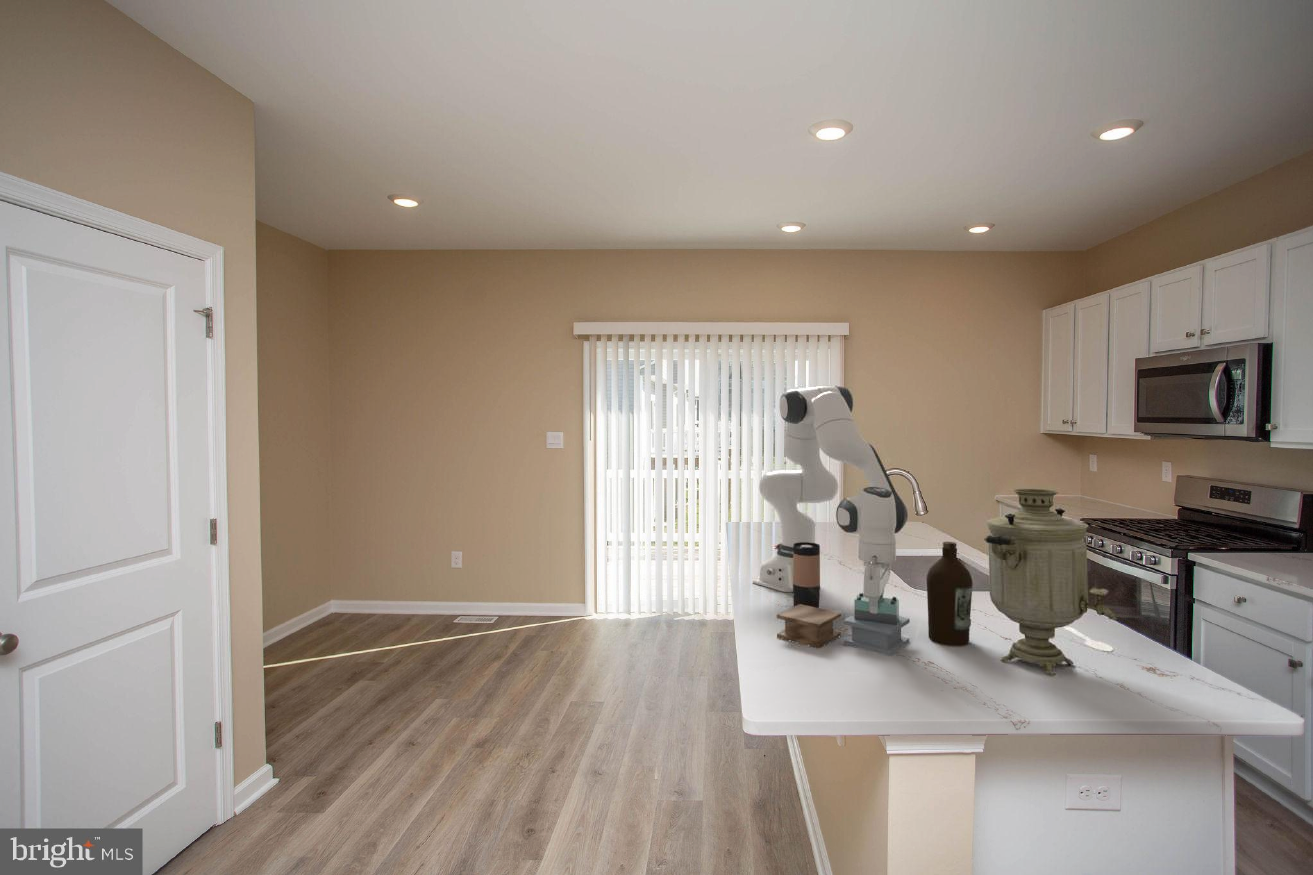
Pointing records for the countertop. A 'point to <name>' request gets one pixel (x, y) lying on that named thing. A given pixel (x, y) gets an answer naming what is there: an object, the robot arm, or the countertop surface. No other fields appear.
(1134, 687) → the countertop surface
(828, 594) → the countertop surface
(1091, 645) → the spoon
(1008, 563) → the samovar
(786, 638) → the stand
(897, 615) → the block
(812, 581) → the travel mug
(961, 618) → the olive oil
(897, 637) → the stand
